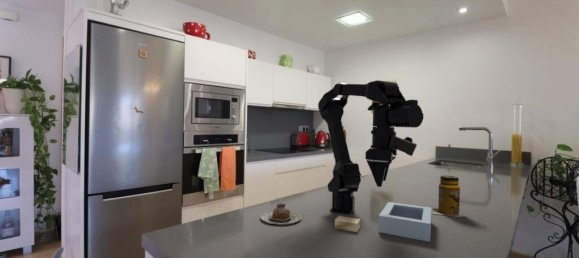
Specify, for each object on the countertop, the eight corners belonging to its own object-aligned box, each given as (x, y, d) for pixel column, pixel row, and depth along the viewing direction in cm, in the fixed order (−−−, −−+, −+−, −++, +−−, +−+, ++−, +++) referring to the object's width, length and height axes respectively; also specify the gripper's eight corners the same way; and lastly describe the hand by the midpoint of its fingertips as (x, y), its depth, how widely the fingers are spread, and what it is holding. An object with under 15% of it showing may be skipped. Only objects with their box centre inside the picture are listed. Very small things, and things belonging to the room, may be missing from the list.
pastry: (308, 219, 82) (309, 204, 82) (284, 231, 73) (285, 213, 73) (277, 211, 89) (277, 197, 89) (251, 221, 80) (252, 205, 80)
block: (334, 229, 74) (334, 220, 74) (338, 224, 78) (338, 215, 78) (357, 233, 72) (357, 223, 72) (359, 228, 75) (360, 219, 75)
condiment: (463, 217, 86) (464, 179, 86) (433, 214, 89) (434, 177, 89) (457, 211, 93) (457, 175, 93) (429, 208, 96) (429, 173, 96)
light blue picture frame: (378, 232, 72) (378, 215, 72) (388, 215, 86) (388, 201, 86) (430, 241, 66) (430, 223, 66) (431, 222, 80) (431, 207, 80)
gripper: (415, 127, 64) (412, 194, 64) (416, 127, 81) (414, 181, 81) (365, 126, 69) (363, 188, 69) (376, 126, 85) (374, 177, 86)
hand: (381, 183), depth 76 cm, fingers open, 9 cm apart
